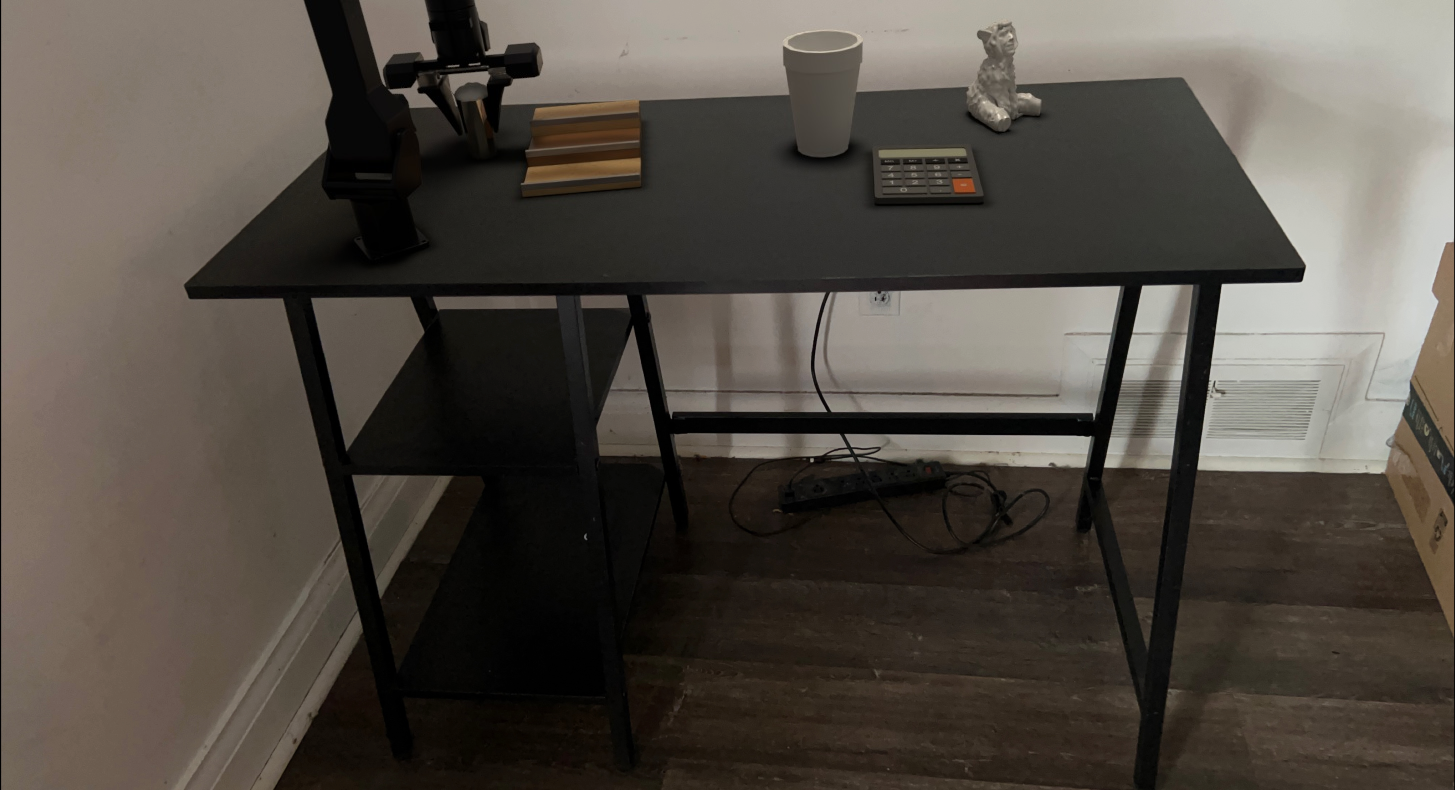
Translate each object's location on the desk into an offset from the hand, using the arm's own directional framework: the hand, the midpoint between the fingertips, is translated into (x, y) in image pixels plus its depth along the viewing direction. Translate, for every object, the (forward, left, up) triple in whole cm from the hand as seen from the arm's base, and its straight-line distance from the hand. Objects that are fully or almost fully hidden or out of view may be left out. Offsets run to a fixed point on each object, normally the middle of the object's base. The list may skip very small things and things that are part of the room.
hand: (479, 133), depth 123 cm
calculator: (-43, -37, -3) cm, 57 cm away
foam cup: (-28, -34, -3) cm, 44 cm away
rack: (-10, -10, -3) cm, 14 cm away
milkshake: (0, 0, -3) cm, 3 cm away
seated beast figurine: (-35, -57, -3) cm, 67 cm away
